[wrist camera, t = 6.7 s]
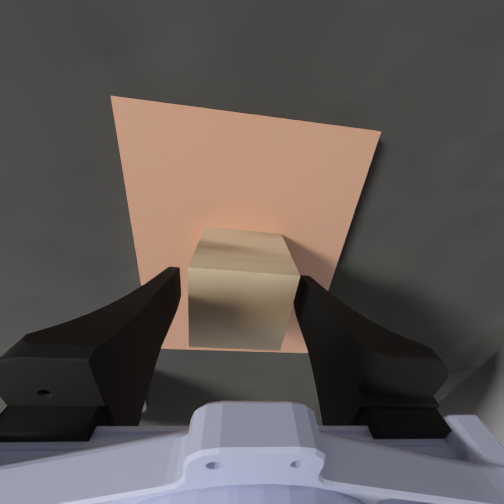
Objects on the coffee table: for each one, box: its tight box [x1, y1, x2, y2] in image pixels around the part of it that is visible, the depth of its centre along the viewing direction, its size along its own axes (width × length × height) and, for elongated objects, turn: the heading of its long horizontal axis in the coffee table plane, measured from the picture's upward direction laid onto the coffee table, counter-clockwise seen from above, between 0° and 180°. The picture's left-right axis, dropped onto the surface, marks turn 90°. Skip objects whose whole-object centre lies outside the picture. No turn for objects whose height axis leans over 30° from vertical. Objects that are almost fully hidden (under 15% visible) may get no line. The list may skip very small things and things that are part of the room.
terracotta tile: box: [111, 96, 381, 353], centre depth 15 cm, size 18×14×1 cm
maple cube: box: [188, 227, 300, 351], centre depth 13 cm, size 5×5×5 cm
